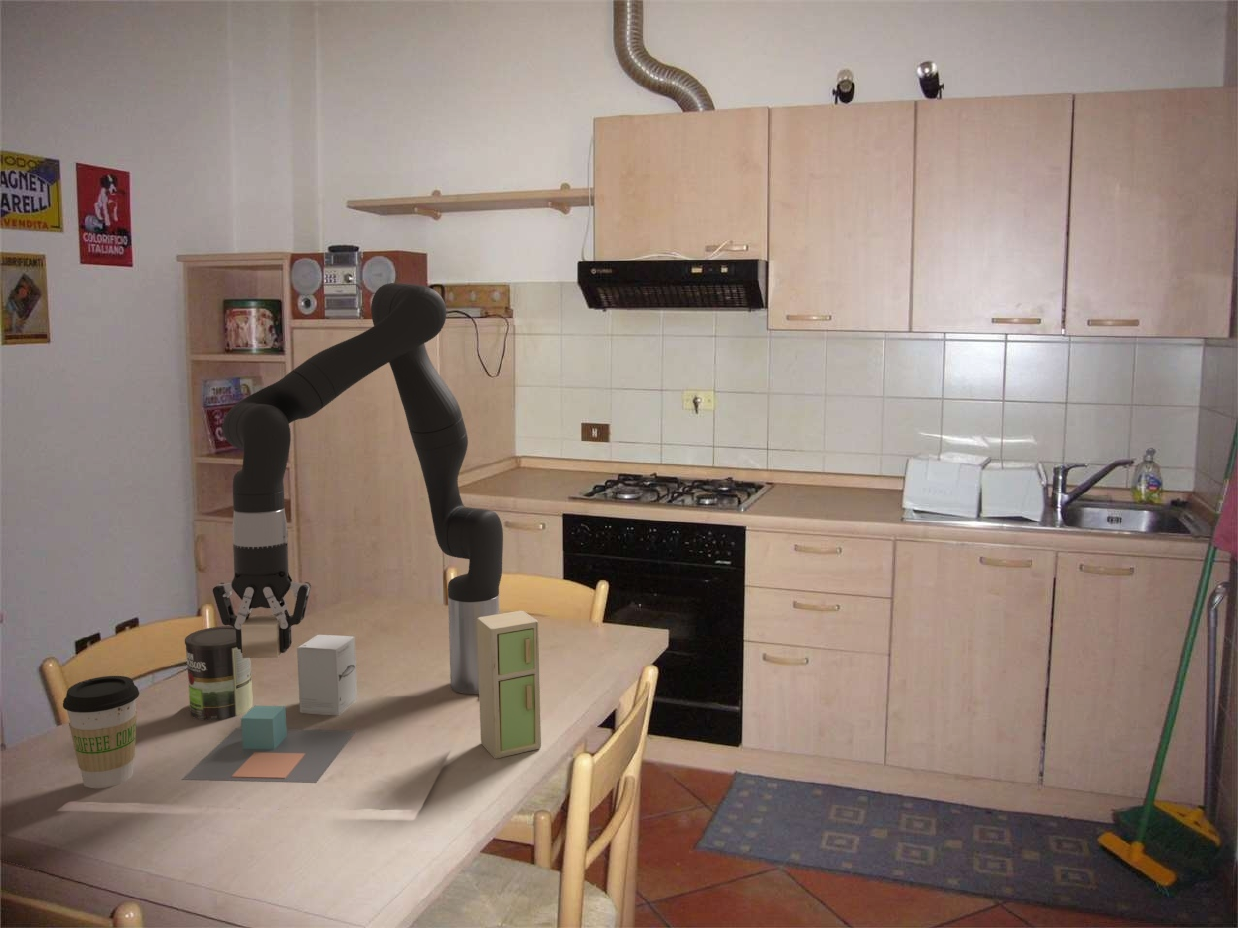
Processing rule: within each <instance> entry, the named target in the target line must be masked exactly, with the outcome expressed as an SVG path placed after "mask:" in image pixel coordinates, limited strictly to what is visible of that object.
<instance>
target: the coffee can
mask: <svg viewBox="0 0 1238 928" xmlns="http://www.w3.org/2000/svg"><path fill="white" fill-rule="evenodd" d="M184 645H185V650H186V651H185V652H186V665H187V680H188V681H187V682H188V695H189V698H188V699H189V711H190V712H189V713H190V716H191V717H192V718H194V719H197V720H200V721H220V720H221V721H222V720H228V719H231V718H236V717H238V716H241V715H245V714H246V713H247V712H248V711H249V710H250V709H252V708H253V707H254V699H253V684H252V683H253V681H252V663H251V662H252V661H251V658H242V653H241V649H240V650H238V649H237V646H236V629H235V628H234V627H233V626H230V625H224V626H213V627H209V628H203V629H201V630H200V629H199V630H196V631H194V632H191V633H190V634H188V635H187V636H186V637H184Z"/></svg>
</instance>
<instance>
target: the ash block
mask: <svg viewBox="0 0 1238 928" xmlns="http://www.w3.org/2000/svg"><path fill="white" fill-rule="evenodd" d="M279 629H280V625H279V622H278V621H277V618H276V616H274V614H262V615H261V614H257V615H255V614H253V615H251V614H250V617H249V618H248V619H247V620H246V621H245V622H244V623H243V624H242V625H241V635H242V658H250V659H267V658H268V659H269V658H271V659H274V658H275V659H276V658H279V656H281V654H282V653H280V644H279Z"/></svg>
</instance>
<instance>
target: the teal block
mask: <svg viewBox="0 0 1238 928" xmlns="http://www.w3.org/2000/svg"><path fill="white" fill-rule="evenodd" d="M286 711H287V710H286V706H285V705H284V706H283V705H253V706H252V708H251V709H250V710H249V711H247V712H245V713H244V714H243V716H242V717H241V718H240V723H241V728H242V741H243V749H275V748H276V747H277V746H278V745H279V744H280V743H281V742H282V741H283V740H284V738H285V737H286V736H287V729H288V728H287V717H286V716H287V715H286V713H287V712H286Z"/></svg>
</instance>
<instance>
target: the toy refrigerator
mask: <svg viewBox="0 0 1238 928" xmlns="http://www.w3.org/2000/svg"><path fill="white" fill-rule="evenodd" d="M539 635H540V634H539V621H538V620H537V619H536V618H535V617H533V616H531V615H530V614H529V613H527V612H526V611H524V610H516V611H510V612H503V613H499V614H496V615H490V616H484V617H479V618H477V644H478V671H479V694H478V696H479V697H478V698H479V701H478V702H479V721H480V722H479V723H480V724H479V725H480V743H481V745H482V746H483V747H484V748H485V749H486V750H487V752H488V753H490V755H491V756H492V757H493V759H496V760H497V759H500V758H505V757H510V756H514V755H518V754H521V753H522V754H523V753H526V752H531V751H535V750H539V749H540V748H541V746H542V732H541V731H542V729H541V726H542V725H541V695H540V694H541V690H540V689H541V687H540V686H541V685H540V684H541V683H540V647H539V646H540V644H539V643H540V641H539V640H540V638H539Z"/></svg>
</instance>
